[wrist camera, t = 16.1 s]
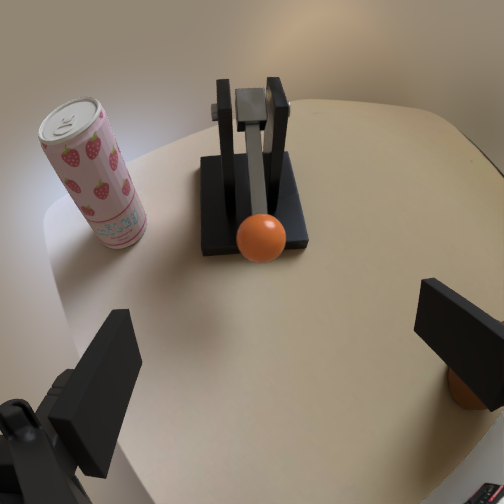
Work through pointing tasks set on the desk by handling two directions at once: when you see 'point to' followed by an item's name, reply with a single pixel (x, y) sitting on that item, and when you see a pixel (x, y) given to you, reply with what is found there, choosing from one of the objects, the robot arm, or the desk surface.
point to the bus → (476, 473)
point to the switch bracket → (236, 178)
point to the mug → (464, 392)
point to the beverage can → (93, 170)
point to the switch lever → (256, 182)
